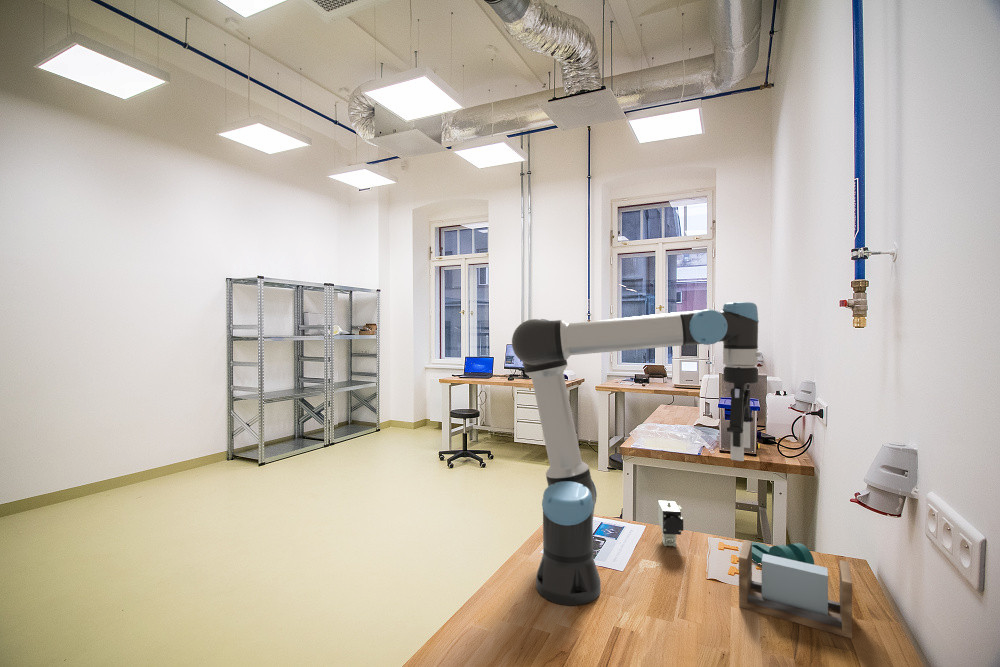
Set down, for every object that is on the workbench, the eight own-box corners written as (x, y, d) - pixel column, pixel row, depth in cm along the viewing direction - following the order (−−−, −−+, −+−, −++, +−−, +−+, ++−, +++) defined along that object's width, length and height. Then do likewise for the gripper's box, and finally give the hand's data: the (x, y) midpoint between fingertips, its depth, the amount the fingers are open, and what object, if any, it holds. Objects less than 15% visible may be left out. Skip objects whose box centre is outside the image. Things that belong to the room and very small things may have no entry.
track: (739, 606, 104) (738, 557, 104) (744, 585, 112) (744, 539, 112) (852, 638, 93) (852, 583, 93) (848, 612, 101) (848, 561, 101)
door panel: (761, 601, 104) (761, 560, 104) (763, 592, 108) (763, 553, 108) (827, 619, 98) (827, 576, 98) (827, 609, 101) (827, 567, 101)
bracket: (814, 583, 114) (814, 550, 114) (789, 586, 112) (789, 553, 112) (759, 548, 131) (759, 520, 131) (738, 551, 130) (738, 522, 130)
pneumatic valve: (664, 553, 129) (664, 509, 129) (657, 534, 141) (657, 494, 140) (685, 554, 128) (685, 510, 128) (676, 535, 140) (676, 495, 139)
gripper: (752, 371, 102) (753, 468, 103) (762, 363, 123) (762, 444, 123) (715, 369, 106) (715, 463, 107) (730, 362, 127) (730, 440, 128)
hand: (740, 453), depth 115 cm, fingers open, 13 cm apart
